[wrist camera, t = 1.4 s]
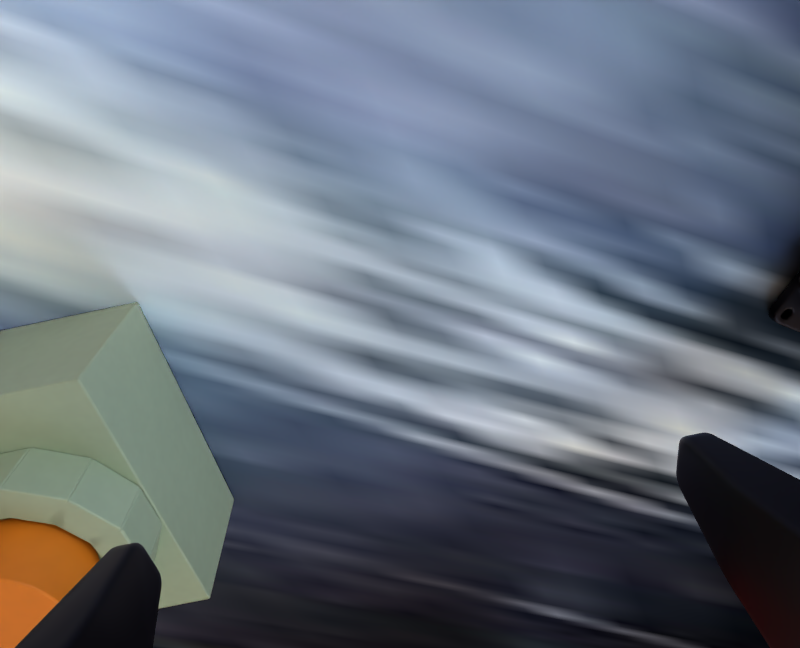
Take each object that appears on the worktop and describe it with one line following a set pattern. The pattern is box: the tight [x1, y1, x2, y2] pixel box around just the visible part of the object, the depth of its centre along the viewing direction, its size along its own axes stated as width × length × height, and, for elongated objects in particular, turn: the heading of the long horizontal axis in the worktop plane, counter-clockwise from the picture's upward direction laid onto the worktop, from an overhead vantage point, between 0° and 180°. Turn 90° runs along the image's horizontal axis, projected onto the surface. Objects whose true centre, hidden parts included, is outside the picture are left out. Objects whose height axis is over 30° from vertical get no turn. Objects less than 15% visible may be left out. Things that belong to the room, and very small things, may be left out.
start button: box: [0, 518, 100, 648], centre depth 17 cm, size 4×4×2 cm
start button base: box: [0, 302, 234, 609], centre depth 20 cm, size 12×11×7 cm
